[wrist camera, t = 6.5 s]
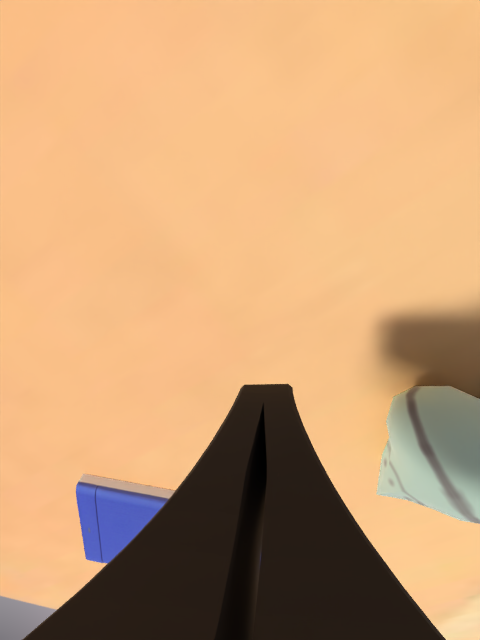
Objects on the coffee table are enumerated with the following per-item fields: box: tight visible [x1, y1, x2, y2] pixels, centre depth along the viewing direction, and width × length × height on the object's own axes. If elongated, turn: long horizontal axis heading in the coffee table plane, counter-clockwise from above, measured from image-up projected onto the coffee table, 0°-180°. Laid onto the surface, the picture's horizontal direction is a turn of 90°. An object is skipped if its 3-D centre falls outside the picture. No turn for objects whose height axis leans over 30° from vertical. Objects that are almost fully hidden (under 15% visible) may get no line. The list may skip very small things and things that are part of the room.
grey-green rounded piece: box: [377, 386, 480, 524], centre depth 14 cm, size 8×4×7 cm
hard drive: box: [76, 474, 261, 563], centre depth 22 cm, size 2×8×12 cm
